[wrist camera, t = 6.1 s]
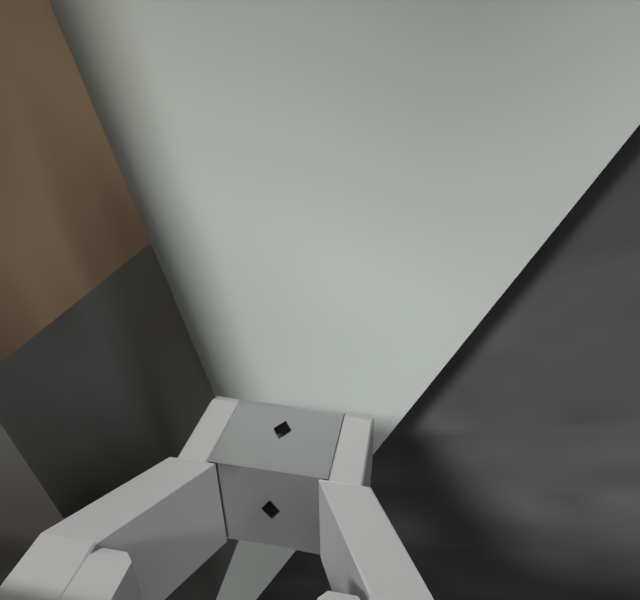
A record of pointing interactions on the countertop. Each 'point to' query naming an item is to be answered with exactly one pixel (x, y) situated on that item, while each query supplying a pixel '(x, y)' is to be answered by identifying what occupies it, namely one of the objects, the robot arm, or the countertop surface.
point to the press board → (350, 177)
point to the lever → (79, 308)
